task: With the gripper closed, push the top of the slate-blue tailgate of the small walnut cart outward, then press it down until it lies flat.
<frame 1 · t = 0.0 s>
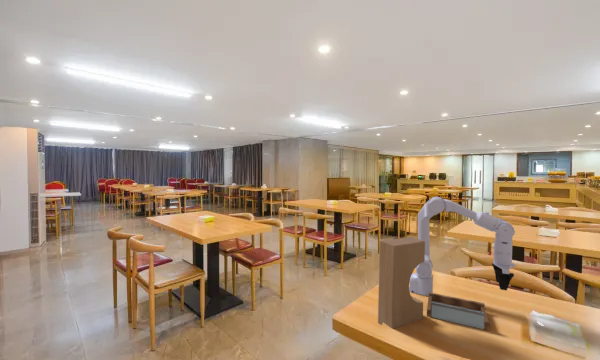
hand: (501, 285, 109), 10 cm above the table, fingers open, 7 cm apart
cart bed: (455, 318, 104), on the table
tailgate: (456, 314, 98), point 4 cm above the table, hinge at 0.0°
decorative block: (400, 323, 100), on the table
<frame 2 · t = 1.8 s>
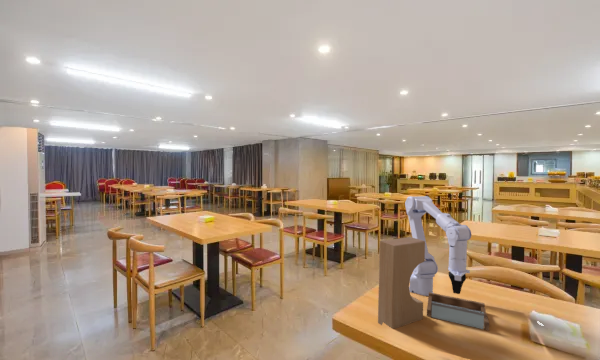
hand: (456, 292, 104), 9 cm above the table, fingers closed
nothing on the table moved.
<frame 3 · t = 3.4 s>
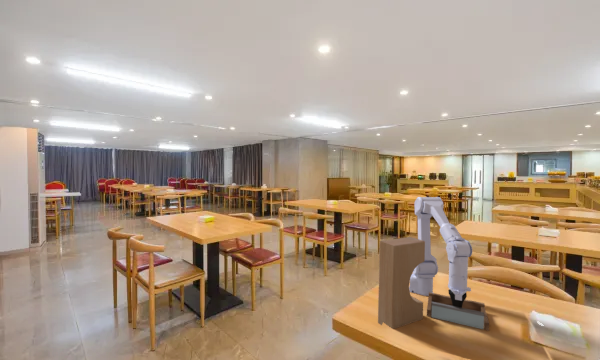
hand: (456, 311, 99), 5 cm above the table, fingers closed, pressing on tailgate
tailgate: (456, 314, 98), point 4 cm above the table, hinge at 4.0°, touching gripper
everything else where it was.
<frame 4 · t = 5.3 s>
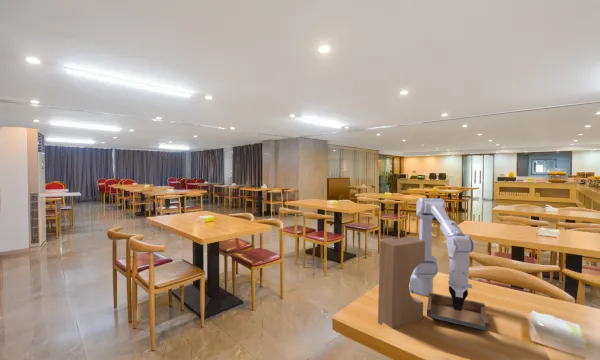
hand: (457, 309, 95), 8 cm above the table, fingers closed
tailgate: (456, 321, 96), point 3 cm above the table, hinge at 61.2°
everything else where it was.
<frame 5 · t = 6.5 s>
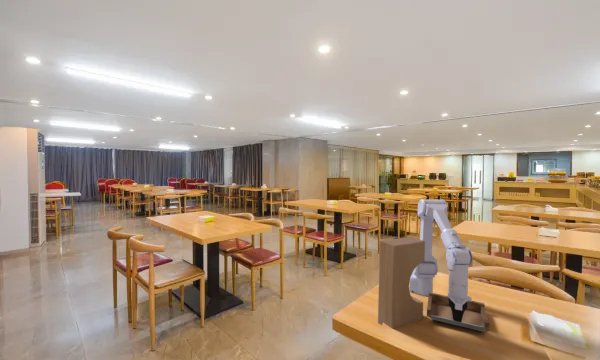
hand: (457, 321, 95), 3 cm above the table, fingers closed, pressing on tailgate
tailgate: (456, 322, 96), point 3 cm above the table, hinge at 67.2°, touching gripper
everything else where it was.
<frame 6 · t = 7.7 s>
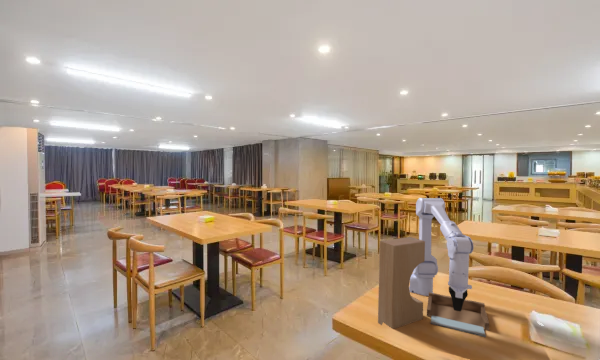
hand: (457, 310, 95), 7 cm above the table, fingers closed
tailgate: (456, 326, 96), point 1 cm above the table, hinge at 90.8°
everything else where it was.
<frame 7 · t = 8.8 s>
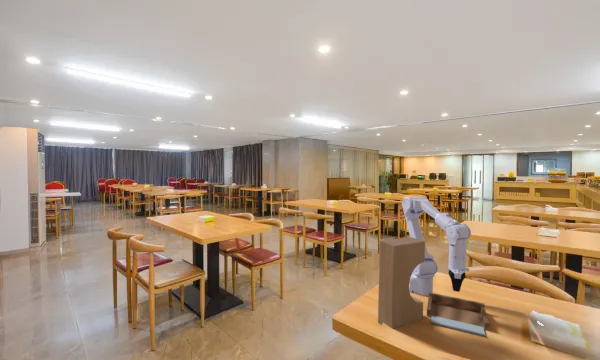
hand: (456, 290, 106), 9 cm above the table, fingers closed
nothing on the table moved.
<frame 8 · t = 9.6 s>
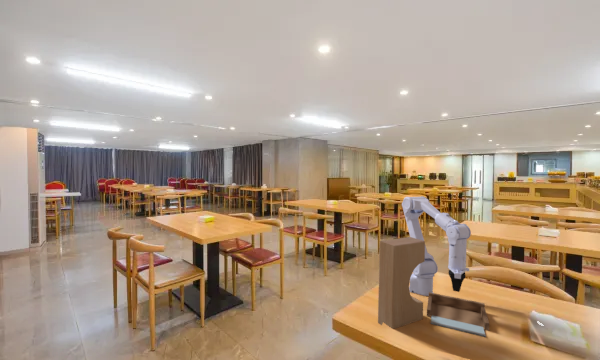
hand: (456, 290, 106), 9 cm above the table, fingers closed
nothing on the table moved.
at the end: tailgate at +91° (first picture: +0°); decorative block moved 0.2 cm from its start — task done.
